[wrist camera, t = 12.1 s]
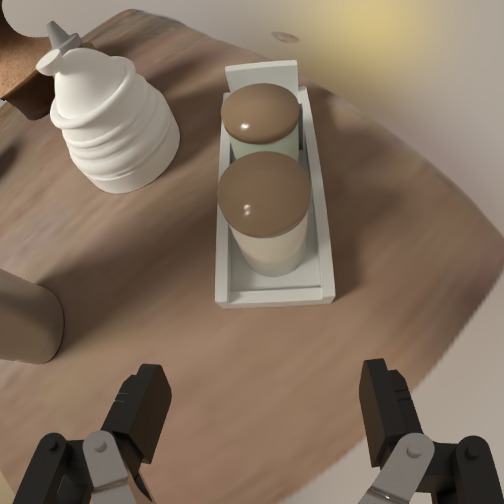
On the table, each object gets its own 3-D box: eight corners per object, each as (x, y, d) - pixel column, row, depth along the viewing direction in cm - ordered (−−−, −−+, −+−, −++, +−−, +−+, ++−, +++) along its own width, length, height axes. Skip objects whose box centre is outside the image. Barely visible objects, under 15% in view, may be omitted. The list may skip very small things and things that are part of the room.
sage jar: (233, 196, 31) (208, 128, 22) (253, 151, 32) (237, 79, 23) (290, 210, 29) (286, 142, 20) (306, 162, 31) (307, 89, 22)
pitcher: (29, 147, 42) (-65, 44, 16) (7, 123, 47) (-64, 42, 21) (99, 76, 45) (31, -40, 19) (64, 65, 50) (8, -24, 24)
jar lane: (330, 303, 27) (342, 283, 21) (223, 308, 28) (201, 290, 22) (306, 104, 36) (305, 59, 29) (228, 111, 37) (216, 67, 30)
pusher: (302, 149, 31) (302, 109, 26) (235, 154, 32) (224, 116, 27) (298, 117, 33) (296, 77, 27) (236, 122, 34) (226, 83, 28)
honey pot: (146, 206, 33) (54, 99, 16) (73, 180, 36) (-12, 97, 19) (198, 119, 37) (154, -2, 19) (123, 105, 39) (67, 12, 22)
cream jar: (232, 267, 28) (202, 217, 19) (253, 211, 30) (236, 144, 21) (295, 286, 27) (296, 243, 18) (313, 227, 29) (320, 162, 19)
